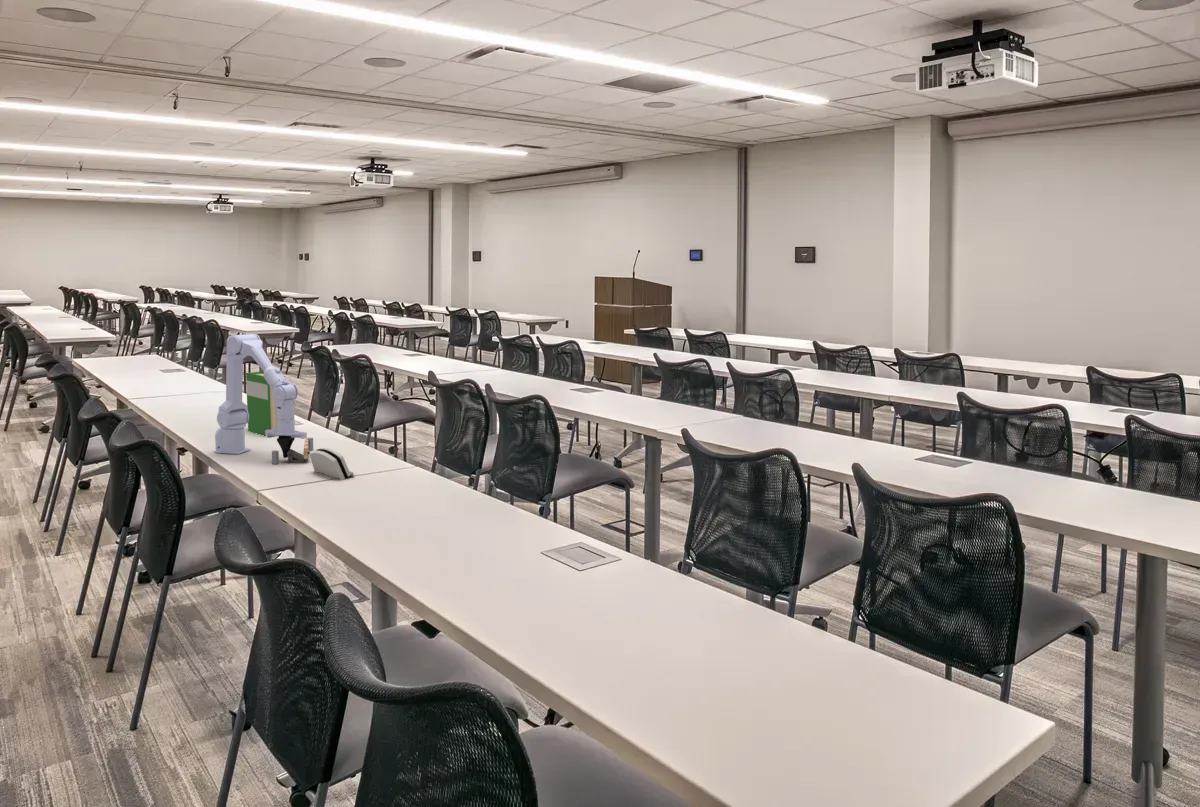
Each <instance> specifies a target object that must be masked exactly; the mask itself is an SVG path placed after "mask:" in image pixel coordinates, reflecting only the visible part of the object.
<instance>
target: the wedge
mask: <svg viewBox="0 0 1200 807" xmlns="http://www.w3.org/2000/svg"><path fill="white" fill-rule="evenodd" d="M287 455H288V457H287V464H307V463H308V462H309V460H310V459H309V457H310V456H309V457H308V459H309V460H308V459H304V453H303V454H302V453H300V452H299V451H296V450H294V449H292V448H290V450H289V451H288V452H287ZM306 462H307V463H306Z"/></svg>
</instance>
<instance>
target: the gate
mask: <svg viewBox="0 0 1200 807" xmlns="http://www.w3.org/2000/svg"><path fill="white" fill-rule="evenodd" d="M303 445H304V446H303V455H304V459H308V456H309V455H310V454H311V451H308V448H309V444H308V439H306V438H305V439H304V444H303Z"/></svg>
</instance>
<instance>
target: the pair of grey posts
mask: <svg viewBox="0 0 1200 807" xmlns="http://www.w3.org/2000/svg"><path fill="white" fill-rule="evenodd" d="M305 439H308V444H309V448H308V450H311V451H313V450H314V438H313V437H307V438H305ZM279 452H280V451H279V450H276V449H275V450H272V451H271V464H272V465H278V463H280V458H279V456H280V455H279Z"/></svg>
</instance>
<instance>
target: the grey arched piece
mask: <svg viewBox="0 0 1200 807" xmlns="http://www.w3.org/2000/svg"><path fill="white" fill-rule="evenodd" d="M309 457H310V461H311V464H312V467H313V470H314V472H316V471H317V472H316V473H319V472H320V474H322V473H324V474H323V475H325V474H327V475H326V476H328V475H330V476H329V477H332V476H333V478H335V477H336V478H335V479H338V478H339V479H338V480H341V479H343V480H345V478H346V477H352V478H356V477H355V473H354V471H351V470H350V469H349V467H348V465H347V462H346V461H345V458H344V457H343V455H342V454H341V453H339V452H338V451H336V450H334V449H331V448H329V447H321V448H317V449H315V450H314V451H313V450H312V452H310V454H309Z"/></svg>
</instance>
